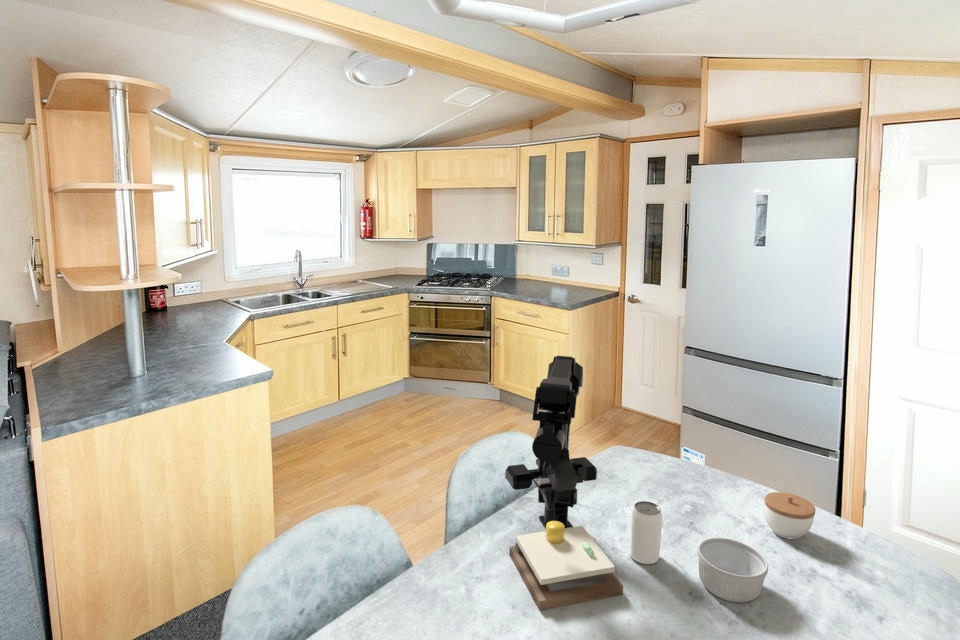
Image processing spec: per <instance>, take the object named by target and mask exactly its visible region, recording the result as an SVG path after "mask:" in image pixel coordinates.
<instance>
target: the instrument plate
mask: <svg viewBox="0 0 960 640" xmlns="http://www.w3.org/2000/svg"><path fill="white" fill-rule="evenodd" d="M516 542H517V544H518V546H519V547H520V549H521V551H522V553H523V554H524V556H525V558H526V560H527V561H528V563H529V565H530V567H531V568H532V570H533V572H534V574H535V575H536V577H537V579H538V581H539V582H540V584H541V585H544V584H550V583H555V582H561V581H566V580H572V579H578V578H583V577H589V576H595V575H600V574H606V573H611V572H613V573H615V571H616V569H615V568H616V566H615V565H614V564H613V562H612V561H611V560H610V559H609V558H608V556H607V555H606V554H605V552H604V551H603V550H602V549H601V547H600V546H599V545H598V544H597V543H596V541H595V540H594V539H593V537H592V536H591V535H590V533H589V532H588V531H587V530H586V529H585V528H584V526H583V525H578V526H573V527H571V528H565V526H564V524H563V523H561V522H558V521H550V522H548V523H547V524H546V528H545V531H539V532H533V533H526V534H525V533H523V534H519V535H518V534H517V535H515V543H516Z"/></svg>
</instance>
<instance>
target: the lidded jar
mask: <svg viewBox="0 0 960 640" xmlns="http://www.w3.org/2000/svg"><path fill="white" fill-rule="evenodd" d="M763 507H764V508H763V514H764V518H765V521H766V524H767V525H768V526H769V528H770V529H771V531H772V530H773V531H772V532H773V534H775V533H776V534H775V535H777V534H778V535H779V537H780V536H782V537H781V538H783V537H785V538H784V539H786V538H791V539H790V540H796V539H795V538H798V537H799V538H800V537H802V536H805V535H806V534H808V532H809V531H810V530H811V527H812V525H813V523H814V520H815V518H814V517H815V515H816V510H817V509H816V507H815V505H814V504H813V503H812V502H810V501H809V500H807V499H806V498H804V497H801V496H799V495H796V494H793V493H789V492H783V491H776V492H775V491H773V492H769V493H767V494H766V495H764V506H763ZM778 535H777V536H778ZM799 538H798V539H799Z"/></svg>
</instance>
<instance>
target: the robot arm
mask: <svg viewBox="0 0 960 640" xmlns="http://www.w3.org/2000/svg"><path fill="white" fill-rule="evenodd" d="M547 369H548V370H547V378H543V379H542V380H541V381H540V384H539V386H536V388H535V395H534V404H533V409H532V410H533V411H532V412H533V413H532V421H535V422H539V427H538V429H537V432H536V433H535V437H534V438H533V439H534V440H533V442H532V447H531V448H532V452H533V454H534V456H535V458H537V459H536V460H535V464H536V466H537V468H534V469H533V468H532V469H529V468H527V467H526V465H525V463H522V464H513V465H508V466H507V467H506V469H505V479H506V480H507V482H508V484H509V485H510V487H511V488H512V489H513V490H516V491H517V490H527V489H528V490H529V488H531V486H533V483H534V484H535V486H536V488H538V489H537V490H538V491H537V494H538V495H537V497H538V498H537V499H538V503H539V504H541V503H542V504H544V513H543V515H539V516H538V519H539V521H540V523H542V526H544V528H545V529H546V524H547V523H548V522H550V521H558V522H561V523H563V524H564V526H565V528H571V527H574V526H573V524H572V523H571V522H570V520H569V519H568V515H569V507H570V508H574V506H576V505H577V503H578V488H577V484H581V483H584V482H589V481H596V480H597V478H598V469H597V467H596V466H595V465H594V464H593V463H592V462H591V461H590V460H589V459H588V458H587V457H585V456H582V457H581V456H580V457H573V458H570V450H569V447H570V446H569V445H570V435H571V434H570V433H571V431H570V430H571V424H572V419H575V416H576V408H577V407H576V406H577V397H578V396H579V394H580V388H583V383H584V367H583V366H582V365H580V363H578V362H576V358H575V357H573V356H569V355H555V356H553V361H552V362H550V363H548V368H547ZM539 410H540V411H539ZM541 410H542V411H541Z"/></svg>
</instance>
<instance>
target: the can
mask: <svg viewBox="0 0 960 640" xmlns="http://www.w3.org/2000/svg"><path fill="white" fill-rule="evenodd" d="M662 526H663V514H662V508H661V507H660V506H659V505H658V504H657V503H654V502H652V501H647V500H646V501H645V500H644V501H643V500H641V501H638V502H635V504H634V508H633V509H632V510H631V521H630V532H629V533H630V535H629V545H628V548H629V549H628V554H629V556H630V557H631V559H632V560H633V561H635V562H636V563H638V564H641V565H647V566H648V565H654V564H655V563H657V562H658V561H659V559H660V552H661V551H660V549H661V539H662V529H663V527H662Z"/></svg>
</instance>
